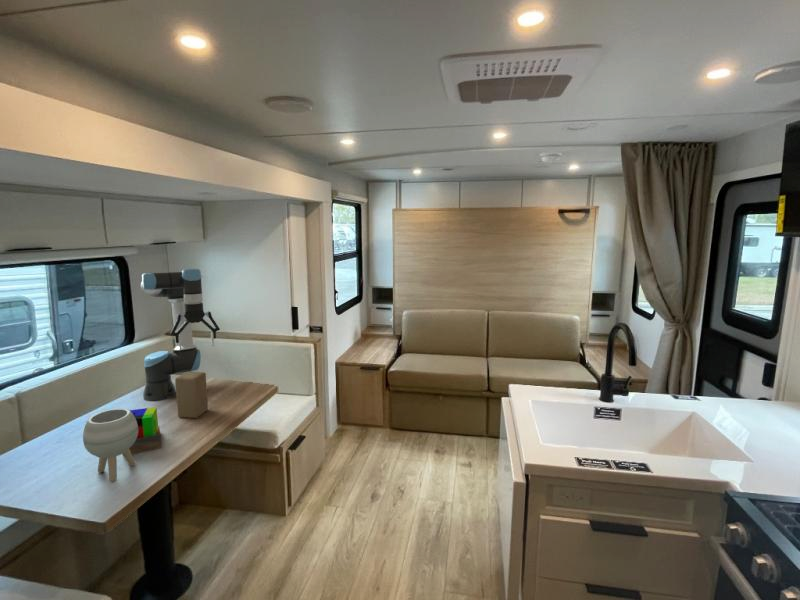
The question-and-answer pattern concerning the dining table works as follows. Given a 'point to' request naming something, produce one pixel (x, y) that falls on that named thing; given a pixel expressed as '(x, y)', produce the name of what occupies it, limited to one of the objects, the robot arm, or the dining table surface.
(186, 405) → the wooden block
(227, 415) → the dining table surface
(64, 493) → the dining table surface
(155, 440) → the dock
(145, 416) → the puzzle toy
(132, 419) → the planter
